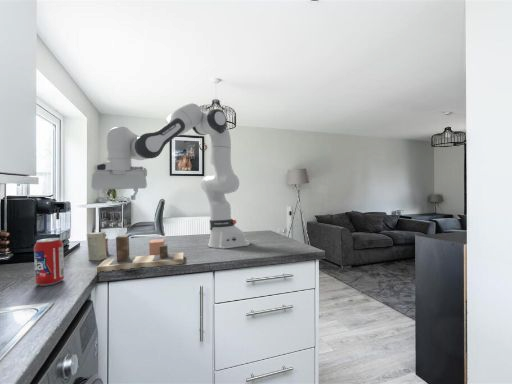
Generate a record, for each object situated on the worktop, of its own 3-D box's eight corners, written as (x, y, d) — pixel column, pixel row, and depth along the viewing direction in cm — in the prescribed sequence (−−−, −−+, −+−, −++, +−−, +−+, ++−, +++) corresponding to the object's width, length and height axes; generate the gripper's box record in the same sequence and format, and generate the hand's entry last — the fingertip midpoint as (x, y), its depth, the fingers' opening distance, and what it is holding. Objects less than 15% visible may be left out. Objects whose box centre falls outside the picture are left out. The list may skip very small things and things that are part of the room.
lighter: (90, 256, 127) (89, 236, 126) (89, 255, 129) (88, 235, 129) (109, 253, 132) (108, 233, 132) (107, 252, 134) (107, 233, 134)
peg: (129, 258, 112) (128, 235, 112) (127, 261, 108) (126, 236, 108) (119, 259, 111) (118, 235, 111) (116, 262, 107) (115, 237, 107)
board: (183, 256, 122) (182, 241, 122) (183, 263, 110) (182, 246, 110) (105, 263, 113) (105, 247, 113) (96, 272, 102) (96, 254, 102)
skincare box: (106, 258, 123) (106, 232, 122) (99, 261, 118) (98, 233, 118) (95, 257, 124) (94, 231, 124) (87, 260, 120) (86, 233, 120)
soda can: (67, 282, 91) (65, 238, 91) (37, 289, 85) (36, 242, 85) (61, 277, 96) (59, 236, 96) (33, 283, 91) (31, 240, 90)
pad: (135, 257, 115) (135, 256, 115) (131, 262, 106) (131, 262, 106) (115, 259, 113) (115, 258, 113) (109, 264, 104) (109, 264, 104)
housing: (164, 253, 130) (164, 238, 130) (163, 256, 122) (163, 241, 122) (151, 254, 128) (151, 239, 128) (149, 258, 121) (149, 242, 121)
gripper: (147, 167, 115) (148, 199, 115) (94, 167, 109) (95, 200, 110) (145, 165, 109) (146, 199, 109) (89, 166, 103) (90, 201, 104)
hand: (120, 200), depth 109 cm, fingers open, 8 cm apart
